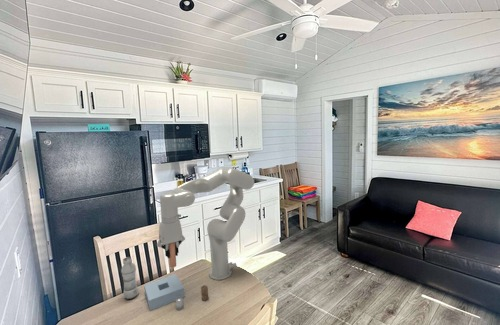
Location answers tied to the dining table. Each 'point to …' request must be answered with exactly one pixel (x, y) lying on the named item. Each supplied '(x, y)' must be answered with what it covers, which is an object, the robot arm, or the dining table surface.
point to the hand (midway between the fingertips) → (172, 255)
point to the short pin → (179, 303)
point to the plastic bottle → (129, 278)
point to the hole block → (163, 291)
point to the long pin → (172, 255)
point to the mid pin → (204, 293)
